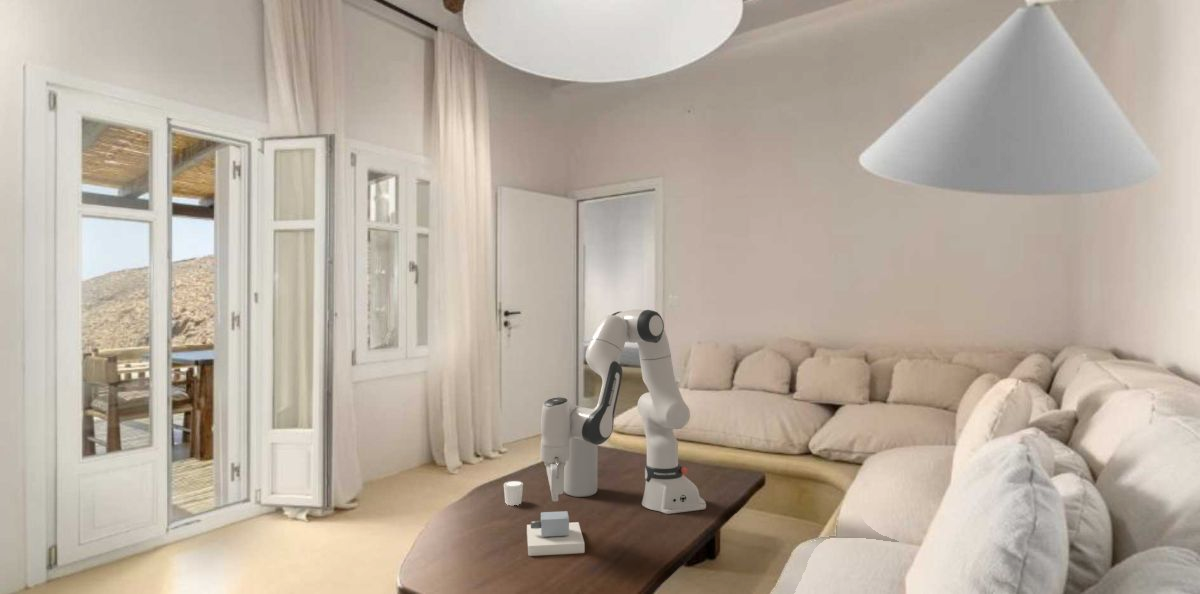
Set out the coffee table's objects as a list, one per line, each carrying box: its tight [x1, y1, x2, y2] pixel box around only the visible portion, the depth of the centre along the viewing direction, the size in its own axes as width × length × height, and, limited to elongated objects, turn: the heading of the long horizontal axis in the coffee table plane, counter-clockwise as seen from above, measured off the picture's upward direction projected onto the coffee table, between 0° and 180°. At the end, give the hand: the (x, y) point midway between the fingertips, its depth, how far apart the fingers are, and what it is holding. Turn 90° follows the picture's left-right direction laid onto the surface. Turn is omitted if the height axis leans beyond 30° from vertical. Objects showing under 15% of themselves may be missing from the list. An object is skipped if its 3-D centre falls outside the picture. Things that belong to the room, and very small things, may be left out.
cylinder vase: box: [563, 437, 599, 498], centre depth 227 cm, size 12×12×25 cm
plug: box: [530, 510, 570, 538], centre depth 180 cm, size 11×6×8 cm, turn 99°
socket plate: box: [526, 521, 586, 557], centre depth 180 cm, size 16×16×4 cm
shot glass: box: [503, 480, 524, 507], centre depth 214 cm, size 7×7×7 cm
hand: (554, 499), depth 180 cm, fingers closed
